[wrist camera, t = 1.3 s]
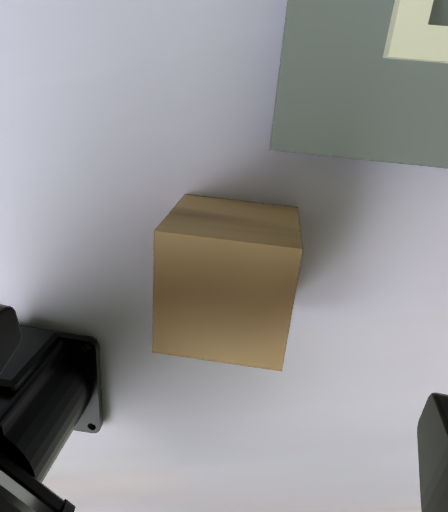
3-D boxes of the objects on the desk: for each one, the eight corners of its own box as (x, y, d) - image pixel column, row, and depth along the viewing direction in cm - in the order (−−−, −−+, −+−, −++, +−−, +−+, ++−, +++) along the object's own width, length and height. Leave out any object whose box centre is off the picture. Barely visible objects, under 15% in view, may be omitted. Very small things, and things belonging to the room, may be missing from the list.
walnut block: (281, 305, 20) (281, 371, 16) (180, 291, 21) (152, 352, 16) (297, 206, 18) (302, 248, 14) (185, 193, 19) (154, 230, 14)
